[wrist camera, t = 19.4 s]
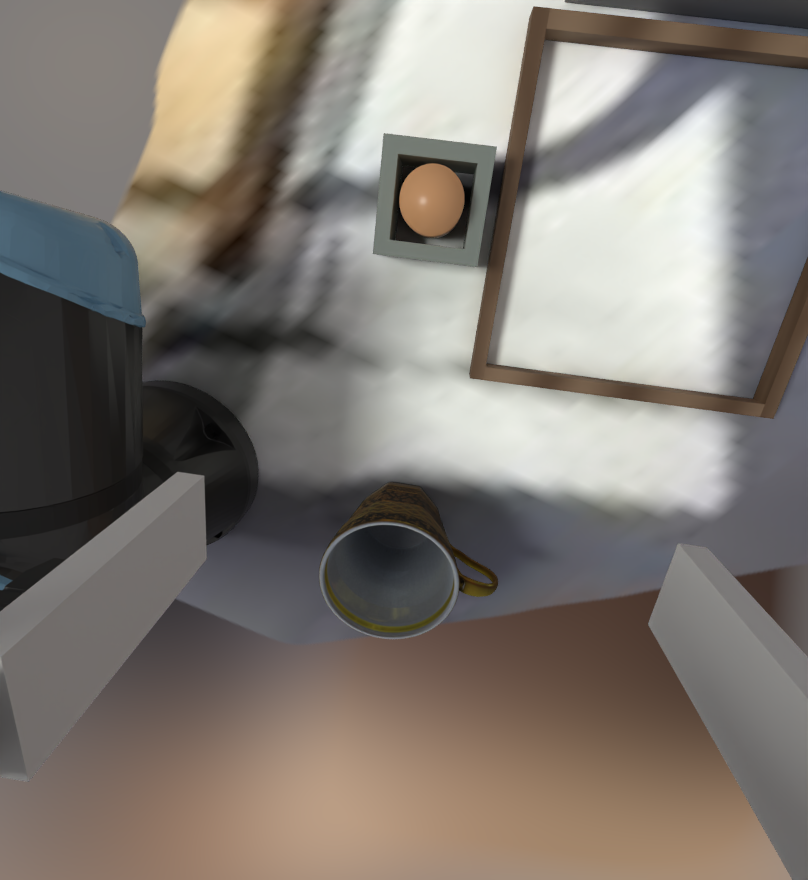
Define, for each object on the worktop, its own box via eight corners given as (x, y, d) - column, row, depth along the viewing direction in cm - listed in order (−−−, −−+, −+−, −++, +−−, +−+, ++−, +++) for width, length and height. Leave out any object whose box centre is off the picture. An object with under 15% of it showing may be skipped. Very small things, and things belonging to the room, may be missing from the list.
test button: (401, 234, 34) (395, 231, 31) (407, 171, 33) (403, 159, 29) (457, 241, 34) (458, 239, 30) (466, 178, 33) (469, 167, 29)
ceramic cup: (341, 553, 45) (314, 628, 36) (350, 455, 42) (323, 510, 33) (478, 574, 45) (487, 655, 36) (499, 477, 42) (515, 539, 32)
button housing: (380, 254, 36) (373, 254, 32) (390, 147, 34) (383, 133, 30) (473, 266, 36) (477, 267, 32) (490, 159, 33) (496, 146, 30)
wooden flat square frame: (469, 373, 39) (470, 378, 37) (529, 18, 31) (533, 6, 29) (761, 413, 38) (773, 418, 37) (901, 59, 30) (924, 49, 28)
